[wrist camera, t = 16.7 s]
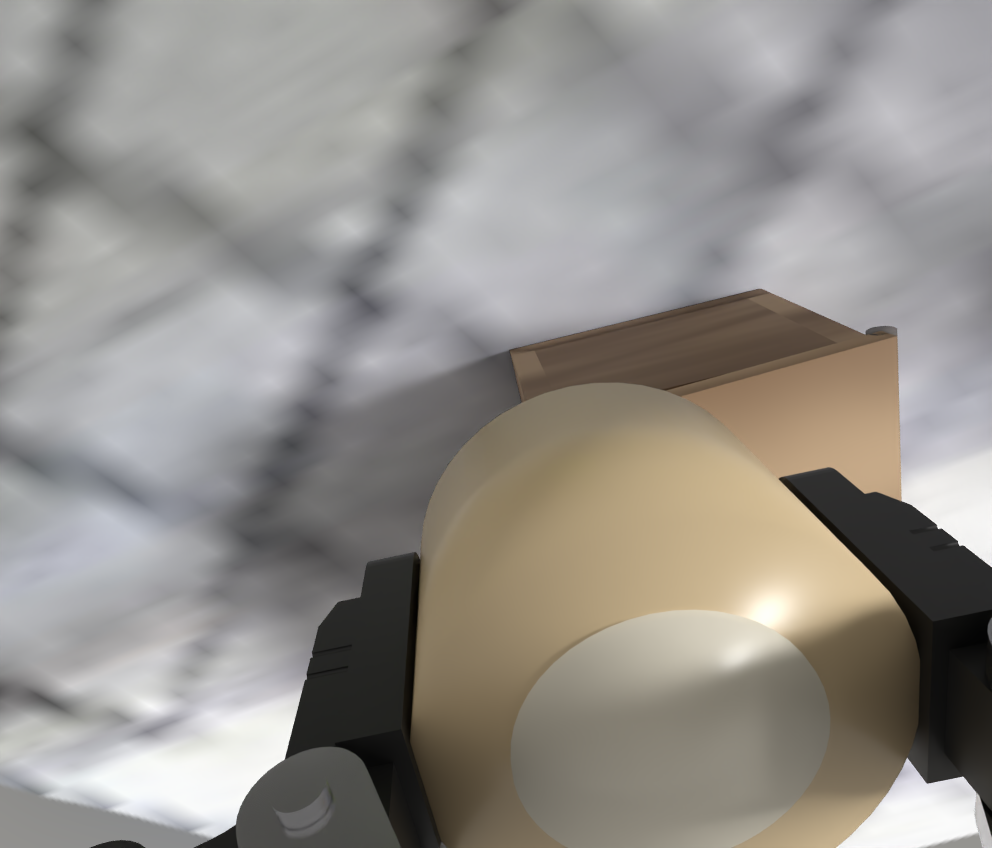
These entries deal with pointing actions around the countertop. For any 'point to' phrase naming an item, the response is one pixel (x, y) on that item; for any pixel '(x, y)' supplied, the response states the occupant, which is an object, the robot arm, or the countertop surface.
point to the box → (678, 345)
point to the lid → (817, 410)
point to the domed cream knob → (646, 641)
